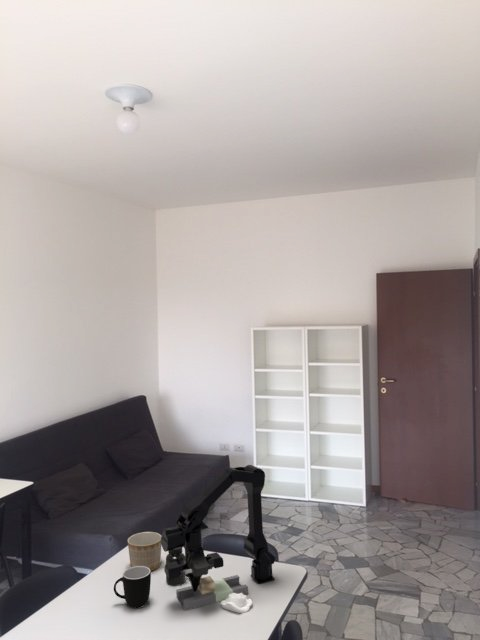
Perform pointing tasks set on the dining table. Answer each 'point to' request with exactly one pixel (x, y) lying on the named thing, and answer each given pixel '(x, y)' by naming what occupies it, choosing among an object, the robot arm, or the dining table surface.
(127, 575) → the mug
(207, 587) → the birch block
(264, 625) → the dining table surface
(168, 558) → the supplement bottle
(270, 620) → the dining table surface
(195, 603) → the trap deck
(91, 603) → the dining table surface
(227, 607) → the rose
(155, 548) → the planter
